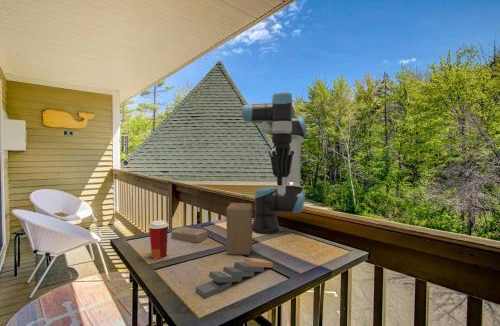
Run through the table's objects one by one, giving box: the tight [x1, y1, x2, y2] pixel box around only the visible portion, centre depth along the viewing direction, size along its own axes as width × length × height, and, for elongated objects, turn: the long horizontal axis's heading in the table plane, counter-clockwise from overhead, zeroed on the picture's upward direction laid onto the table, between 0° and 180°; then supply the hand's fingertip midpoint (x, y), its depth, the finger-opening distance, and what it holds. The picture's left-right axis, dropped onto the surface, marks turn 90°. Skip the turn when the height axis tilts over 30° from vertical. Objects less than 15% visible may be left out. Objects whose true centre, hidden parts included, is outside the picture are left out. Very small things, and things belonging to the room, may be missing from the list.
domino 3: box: [222, 266, 255, 278], centre depth 88 cm, size 2×5×10 cm
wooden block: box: [226, 202, 253, 256], centre depth 112 cm, size 10×10×20 cm
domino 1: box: [195, 279, 232, 299], centre depth 81 cm, size 2×5×10 cm
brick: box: [170, 226, 208, 244], centre depth 128 cm, size 17×8×5 cm, turn 65°
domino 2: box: [208, 271, 243, 283], centre depth 84 cm, size 2×5×10 cm
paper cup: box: [148, 219, 170, 260], centre depth 106 cm, size 8×8×14 cm
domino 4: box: [233, 261, 265, 273], centre depth 91 cm, size 2×5×10 cm
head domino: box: [244, 257, 274, 269], centre depth 95 cm, size 2×5×10 cm
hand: (281, 193), depth 102 cm, fingers closed
